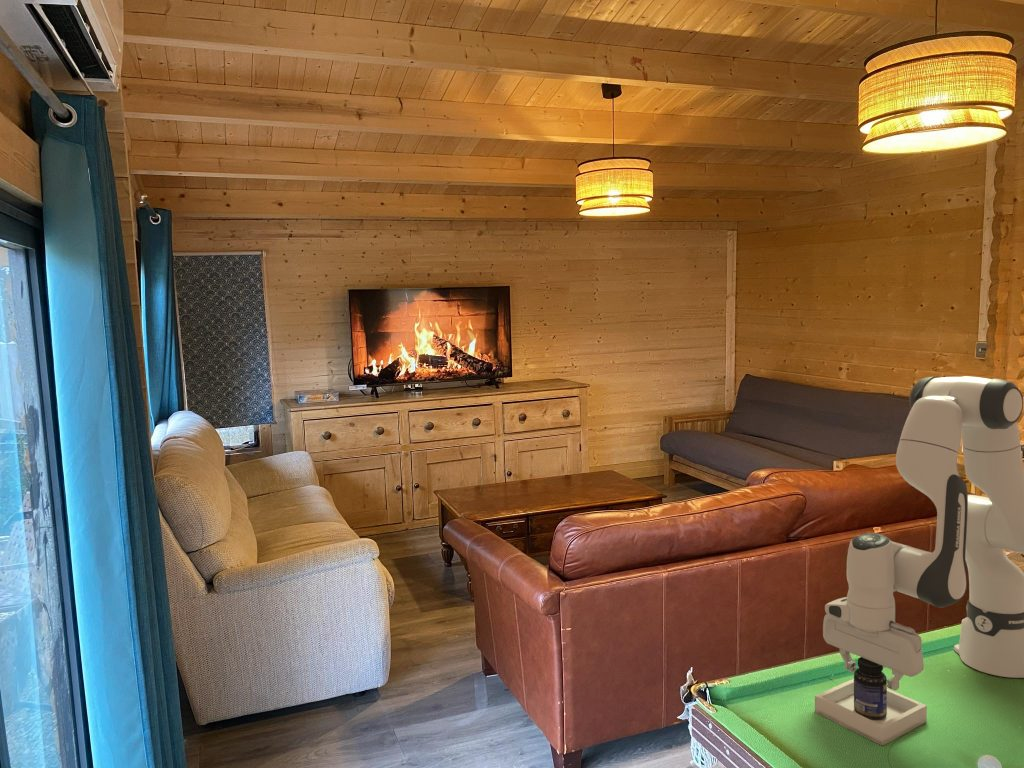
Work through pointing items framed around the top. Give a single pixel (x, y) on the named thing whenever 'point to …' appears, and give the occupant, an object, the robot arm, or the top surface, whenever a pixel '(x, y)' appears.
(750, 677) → the top surface
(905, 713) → the tray
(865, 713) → the pill bottle
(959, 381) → the robot arm
